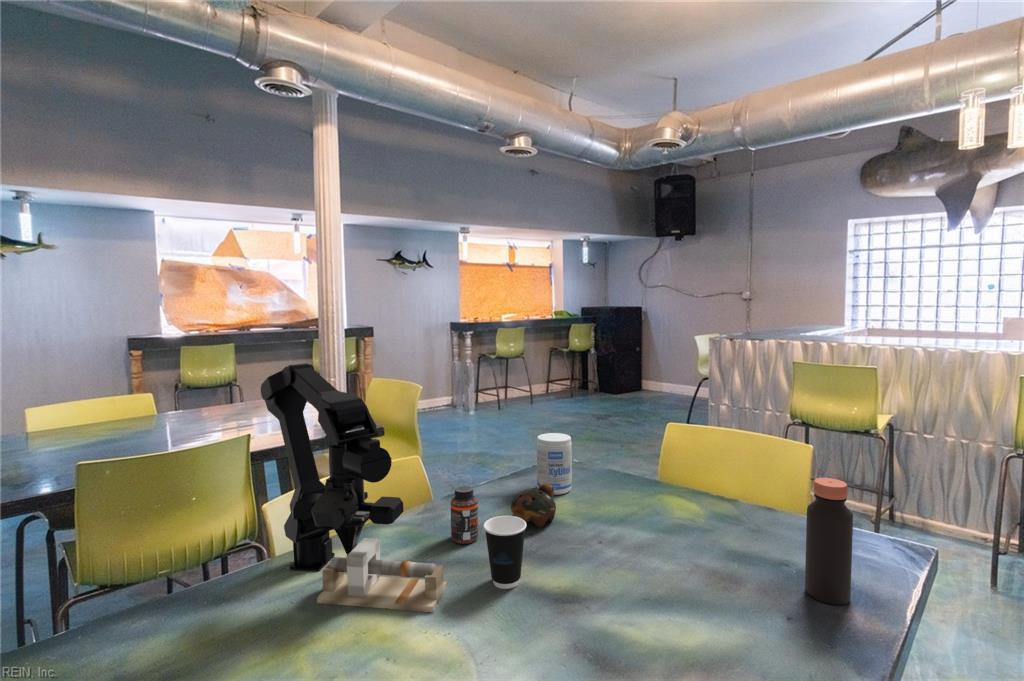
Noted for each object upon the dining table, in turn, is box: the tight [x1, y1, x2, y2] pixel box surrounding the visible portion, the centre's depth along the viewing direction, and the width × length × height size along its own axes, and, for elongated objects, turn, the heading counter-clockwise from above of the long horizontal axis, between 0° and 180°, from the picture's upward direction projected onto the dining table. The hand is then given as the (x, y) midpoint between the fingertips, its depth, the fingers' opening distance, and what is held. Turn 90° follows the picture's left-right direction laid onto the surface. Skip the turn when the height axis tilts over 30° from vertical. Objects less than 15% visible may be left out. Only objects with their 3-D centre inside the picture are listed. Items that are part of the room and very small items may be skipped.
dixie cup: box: [482, 515, 527, 590], centre depth 96 cm, size 8×8×11 cm
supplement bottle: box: [450, 485, 479, 545], centre depth 114 cm, size 6×6×11 cm
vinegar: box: [804, 477, 854, 606], centre depth 89 cm, size 7×7×20 cm
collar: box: [345, 537, 382, 597], centre depth 93 cm, size 3×7×7 cm, turn 170°
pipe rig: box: [316, 556, 448, 613], centre depth 93 cm, size 21×8×6 cm, turn 81°
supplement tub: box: [536, 432, 573, 496], centre depth 142 cm, size 10×10×15 cm
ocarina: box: [510, 483, 557, 529], centre depth 121 cm, size 10×15×8 cm, turn 148°
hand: (350, 554), depth 93 cm, fingers closed
